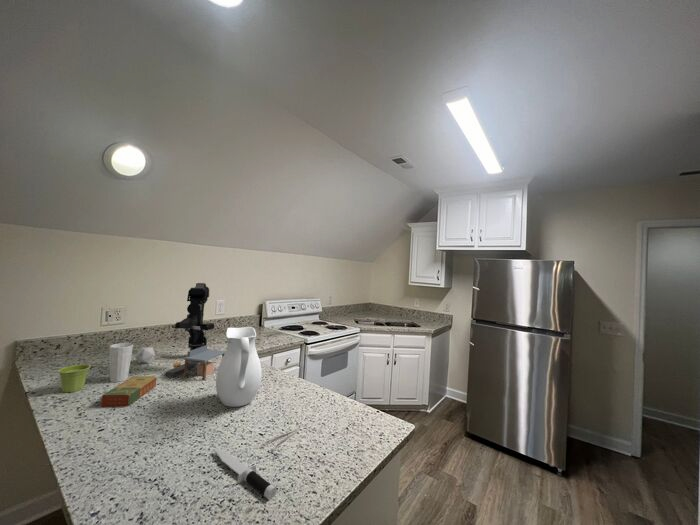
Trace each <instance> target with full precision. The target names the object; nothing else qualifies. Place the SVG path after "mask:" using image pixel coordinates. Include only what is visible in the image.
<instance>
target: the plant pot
mask: <svg viewBox="0 0 700 525" xmlns="http://www.w3.org/2000/svg"><path fill="white" fill-rule="evenodd" d="M89 369H91V365H89V364H77V365H76V364H75V365H69V366H65V367H62V368H60V369H59V370H57V373H59V376H60V382H61V391H62V393H65V394H66V393H69V392H70V393H76V392H77V391H80V390H83V388H84V387H85V383H86V379H87V376H88V375H87V374H88V372H89Z"/></svg>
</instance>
